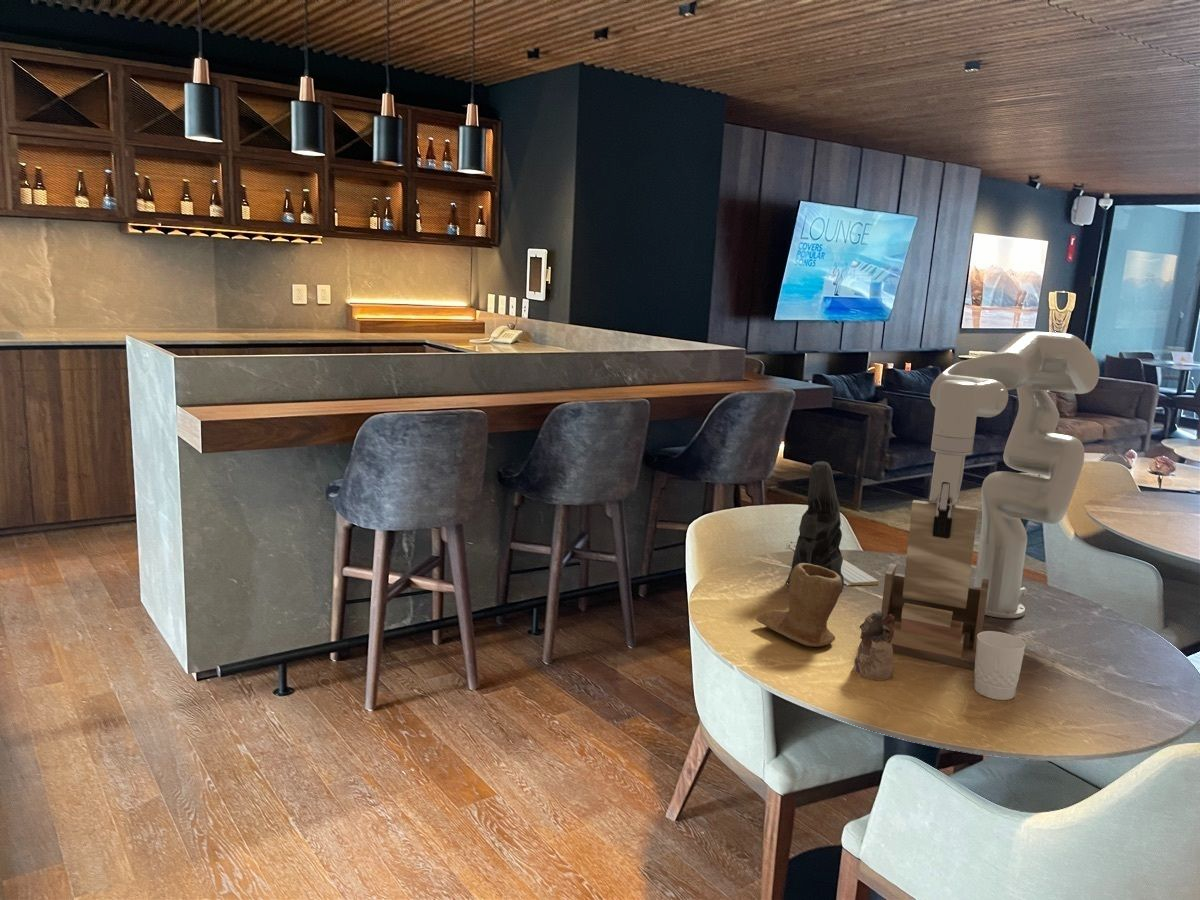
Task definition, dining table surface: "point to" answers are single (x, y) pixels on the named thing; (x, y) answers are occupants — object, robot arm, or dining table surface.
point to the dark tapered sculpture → (820, 524)
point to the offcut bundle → (929, 631)
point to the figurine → (875, 648)
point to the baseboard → (853, 574)
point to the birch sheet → (939, 556)
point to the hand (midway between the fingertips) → (941, 534)
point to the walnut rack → (968, 616)
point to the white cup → (998, 664)
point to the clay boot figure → (807, 606)
